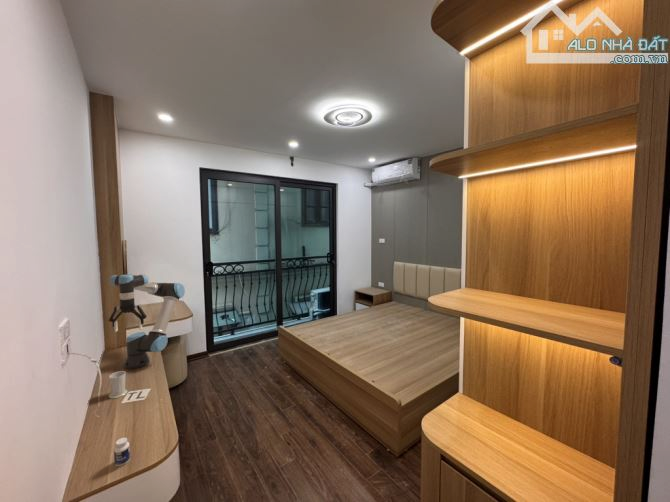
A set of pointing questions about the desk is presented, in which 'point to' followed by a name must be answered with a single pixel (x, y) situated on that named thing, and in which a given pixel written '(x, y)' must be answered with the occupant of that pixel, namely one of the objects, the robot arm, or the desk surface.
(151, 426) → the desk surface
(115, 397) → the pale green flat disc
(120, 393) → the cup
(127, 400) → the tile
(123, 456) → the pill bottle
